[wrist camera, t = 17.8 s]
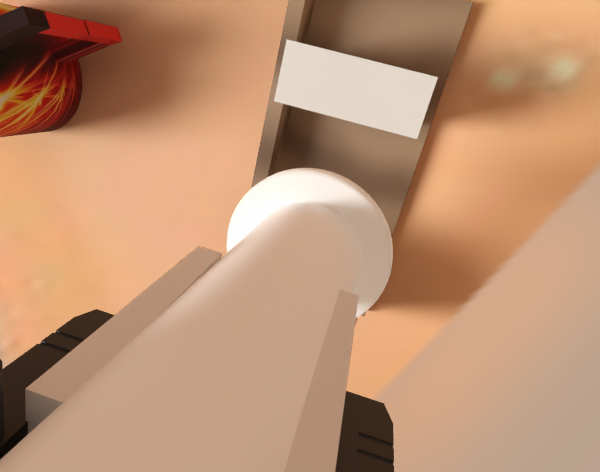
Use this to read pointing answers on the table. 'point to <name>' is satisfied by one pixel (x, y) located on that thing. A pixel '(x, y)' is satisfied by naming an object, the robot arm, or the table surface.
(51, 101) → the mug
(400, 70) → the bookend
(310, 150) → the rack
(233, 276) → the white round flared column
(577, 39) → the table surface
